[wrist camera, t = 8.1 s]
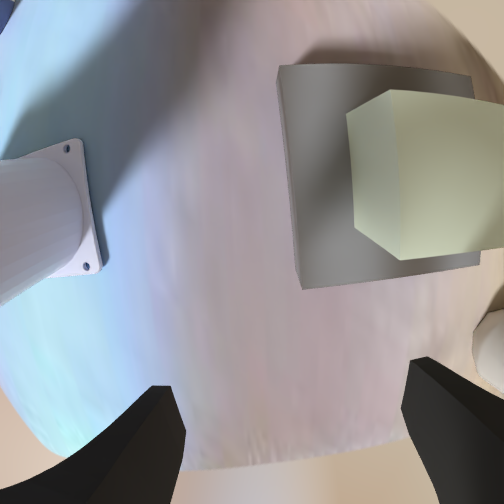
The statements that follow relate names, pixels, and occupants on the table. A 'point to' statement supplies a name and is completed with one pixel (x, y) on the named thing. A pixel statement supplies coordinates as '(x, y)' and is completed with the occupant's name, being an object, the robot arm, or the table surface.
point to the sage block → (428, 173)
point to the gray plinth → (344, 169)
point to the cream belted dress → (5, 12)
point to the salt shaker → (490, 349)
